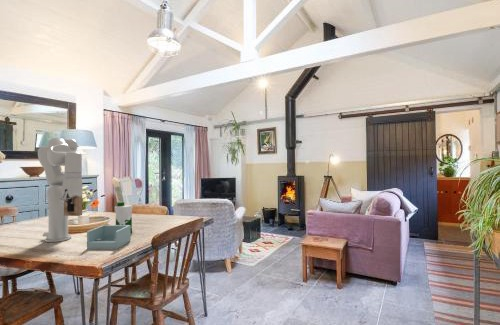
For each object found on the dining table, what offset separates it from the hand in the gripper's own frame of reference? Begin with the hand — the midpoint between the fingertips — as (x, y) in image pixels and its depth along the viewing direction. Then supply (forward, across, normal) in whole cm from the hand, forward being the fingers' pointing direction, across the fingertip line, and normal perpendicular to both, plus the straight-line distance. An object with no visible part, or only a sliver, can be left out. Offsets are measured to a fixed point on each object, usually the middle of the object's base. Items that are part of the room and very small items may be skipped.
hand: (72, 210), depth 140 cm
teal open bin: (+20, -8, +16) cm, 26 cm away
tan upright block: (+2, 0, 0) cm, 2 cm away
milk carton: (+20, -30, +13) cm, 38 cm away
